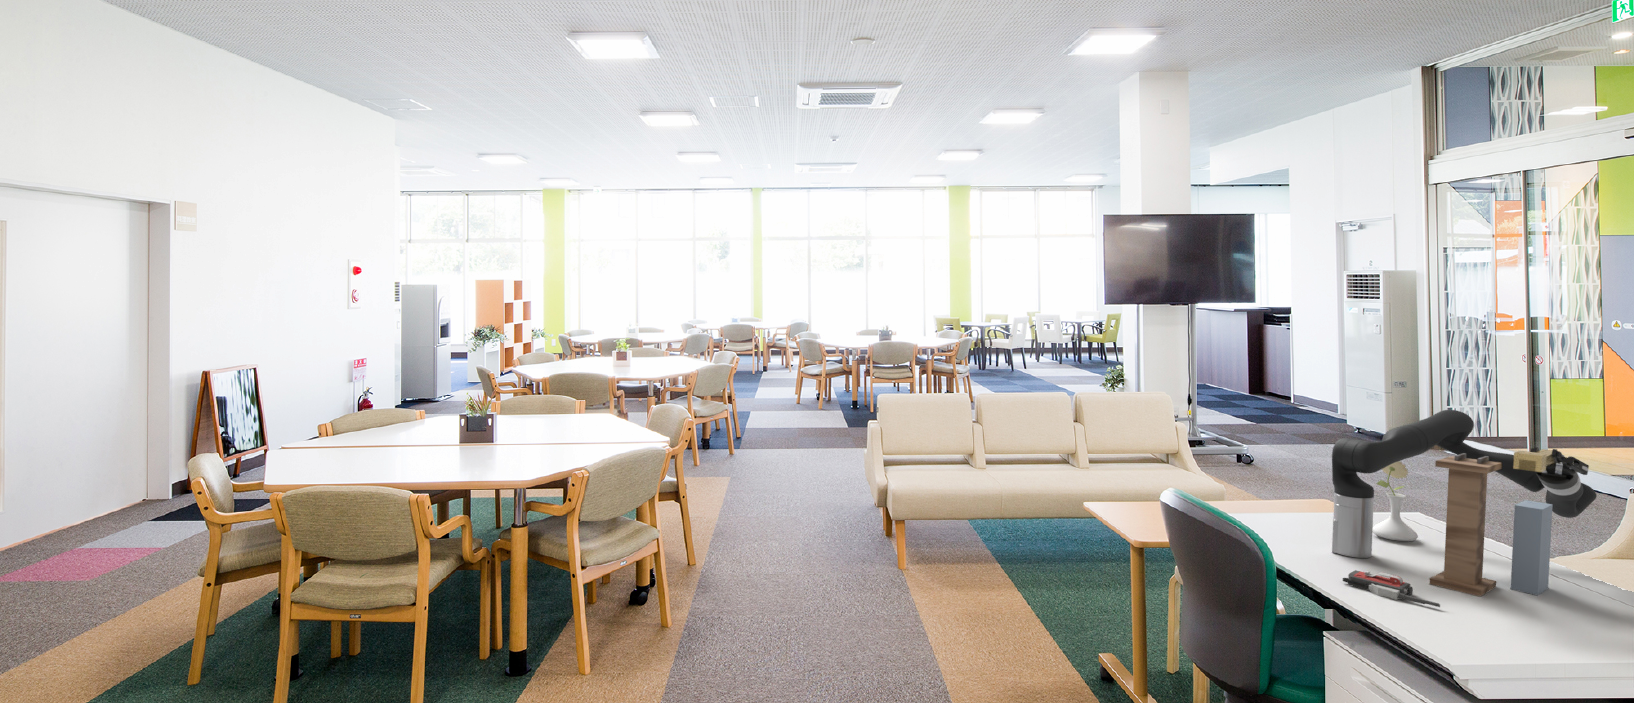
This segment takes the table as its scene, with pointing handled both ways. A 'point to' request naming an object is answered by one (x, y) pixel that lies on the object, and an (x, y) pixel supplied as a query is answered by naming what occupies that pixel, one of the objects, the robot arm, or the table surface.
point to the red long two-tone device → (1384, 586)
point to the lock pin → (1533, 460)
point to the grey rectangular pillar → (1531, 547)
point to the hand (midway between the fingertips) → (1544, 451)
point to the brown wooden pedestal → (1465, 525)
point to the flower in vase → (1395, 509)
